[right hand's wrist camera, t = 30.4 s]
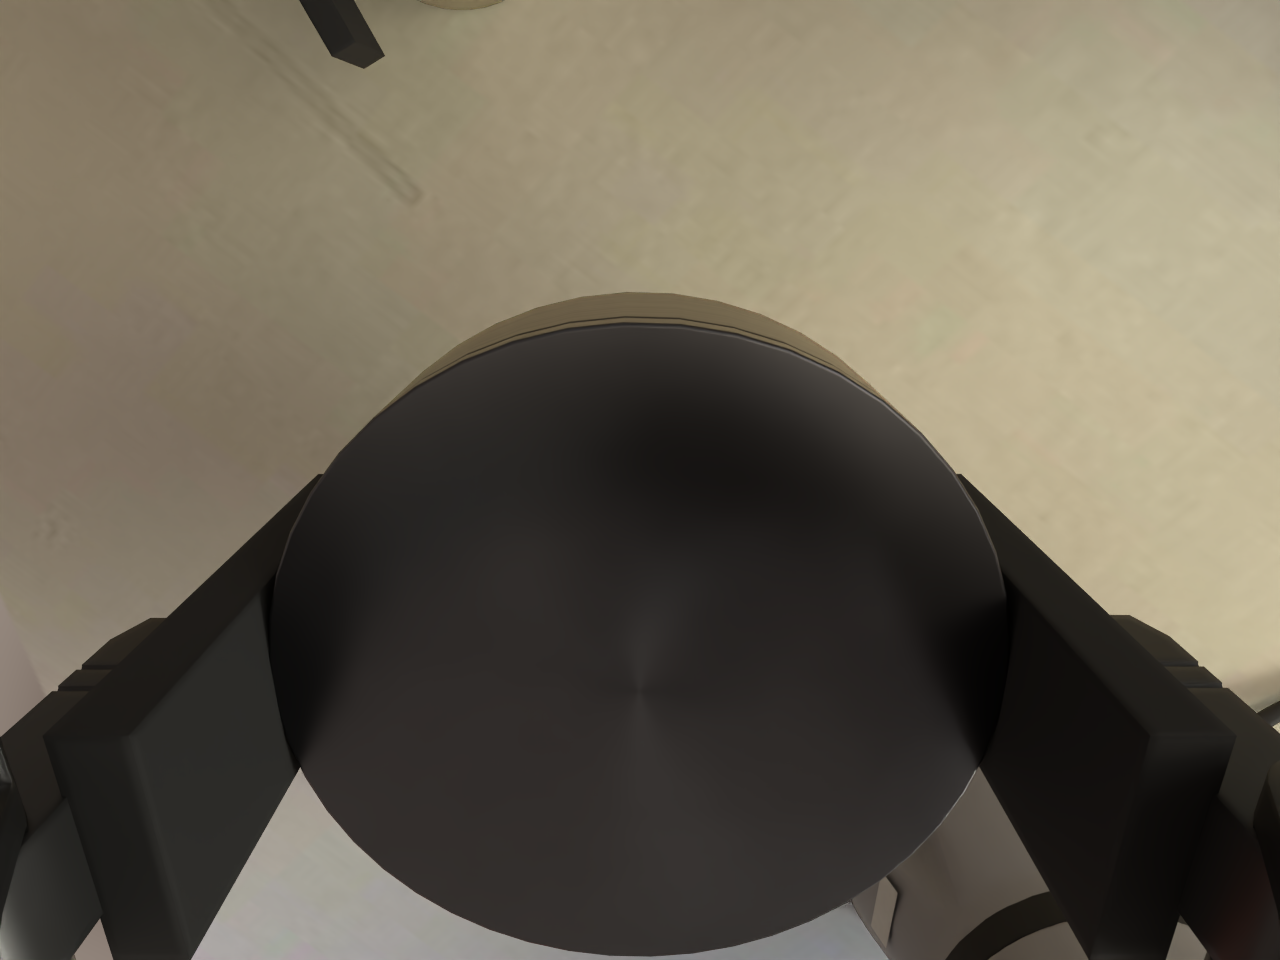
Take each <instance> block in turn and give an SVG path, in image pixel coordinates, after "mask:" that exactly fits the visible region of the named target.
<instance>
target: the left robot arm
mask: <svg viewBox="0 0 1280 960" xmlns="http://www.w3.org/2000/svg"><path fill="white" fill-rule="evenodd" d="M299 1H300V2H301V4H302V6H303V7H304V9H305V11H306V13H307V14H308V16H309V18H310V20H311V21H312V23H313V25H314V26H315V28H316V30H317V32H318V33H319V35H320V37H321V38H322V40H323V42H324V44H325V45H326V47H327V49H328V50H329V52H330V54H331V56H332V57H335V58H338V59H340V60H343V61H345V62H348V63H350V64H353V65H356V66H358V67H361V68H363V69H364V68H366V67H368V66H369V65H371V64H373V63H374V62H376V61H377V60H379V59H381V58H382V57H384V56H385V55H384V53H383V51H382V50H381V48H380V46H379V44H378V43H377V41H376V39H375V37H374V35H373V34H372V32H371V30H370V28H369V26H368V25H367V23H366V21H365V19H364V18H363V16H362V14H361V12H360V10H359V9H358V7H357V5H356V3H355V2H354V0H299Z"/></svg>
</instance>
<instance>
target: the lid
mask: <svg viewBox="0 0 1280 960" xmlns="http://www.w3.org/2000/svg"><path fill="white" fill-rule="evenodd" d="M1009 649H1010V627H1009V616H1008V604H1007V594H1006V590H1005V586H1004V582H1003V578H1002V573H1001V569H1000V565H999V561H998V557H997V553H996V550H995V548H994V546H993V543H992V541H991V539H990V536H989V534H988V531H987V529H986V527H985V524H984V522H983V520H982V517H981V515H980V513H979V510H978V509H977V507H976V505H975V504H974V502H973V501H972V499H971V497H970V496H969V494H968V493H967V491H966V489H965V488H964V486H963V484H962V483H961V481H960V480H959V478H958V476H957V475H956V473H955V472H954V470H953V469H952V468H951V467H950V465H949V464H948V463H947V462H946V461H945V460H944V458H943V457H942V456H941V455H940V454H939V453H938V451H937V450H936V449H935V448H934V447H933V446H932V444H931V443H930V442H929V441H928V440H927V439H926V437H925V436H924V435H923V434H922V433H921V432H920V431H919V430H918V429H917V428H916V427H915V426H914V425H912V424H911V423H910V422H909V421H908V420H907V419H906V418H905V417H904V416H903V415H902V414H901V413H900V412H899V411H898V410H896V409H895V408H894V407H893V406H892V405H891V404H890V403H889V402H888V401H887V400H886V399H885V398H884V397H883V396H881V395H880V394H879V393H878V392H877V391H876V390H875V389H874V388H873V387H872V386H871V385H870V384H869V383H867V382H866V381H865V380H864V379H863V378H862V377H860V376H859V375H858V374H857V373H856V372H855V371H854V370H852V369H851V368H850V367H849V366H848V365H847V364H845V363H844V362H843V361H842V360H841V359H840V358H839V357H837V356H836V355H834V354H833V353H831V352H830V351H828V350H827V349H825V348H824V347H822V346H820V345H819V344H817V343H816V342H814V341H813V340H811V339H810V338H808V337H807V336H805V335H803V334H802V333H800V332H798V331H796V330H794V329H792V328H789V327H787V326H785V325H783V324H781V323H779V322H776V321H774V320H772V319H770V318H768V317H766V316H763V315H761V314H758V313H755V312H752V311H749V310H745V309H742V308H739V307H736V306H732V305H729V304H726V303H722V302H719V301H714V300H708V299H702V298H696V297H690V296H684V295H678V294H669V293H636V292H624V293H615V294H605V295H595V296H586V297H579V298H575V299H571V300H567V301H563V302H558V303H554V304H550V305H546V306H542V307H538V308H535V309H532V310H530V311H527V312H525V313H522V314H520V315H517V316H515V317H512V318H509V319H507V320H504V321H502V322H499V323H497V324H495V325H493V326H491V327H489V328H487V329H486V330H484V331H482V332H480V333H478V334H477V335H475V336H473V337H471V338H470V339H468V340H466V341H464V342H462V343H461V344H459V345H457V346H456V347H455V348H453V349H452V350H451V351H449V352H448V353H447V354H445V355H444V356H443V357H441V358H440V359H439V360H438V361H436V362H435V363H434V364H432V365H431V366H430V367H428V368H427V369H426V370H424V371H423V372H422V373H421V374H420V375H419V376H418V377H417V378H416V379H415V380H414V381H412V382H411V383H410V384H409V385H408V386H407V387H406V388H405V389H404V390H403V391H402V392H401V393H400V394H398V395H397V396H396V397H395V398H394V399H393V400H392V401H391V402H390V403H389V404H388V405H387V406H386V407H384V408H383V409H382V410H381V411H380V412H379V413H378V414H377V415H376V416H375V417H374V418H373V419H372V420H371V421H370V422H369V423H368V424H367V425H366V426H365V427H364V428H363V429H362V430H361V431H360V432H359V433H358V434H357V435H356V436H355V437H354V438H353V439H352V440H351V441H350V442H349V443H348V444H347V445H346V446H345V447H344V448H343V449H342V450H341V451H340V452H339V453H338V455H337V456H336V458H335V459H334V460H333V462H332V463H331V464H330V466H329V467H328V469H327V470H326V471H325V473H324V474H323V476H322V477H321V478H320V480H319V481H318V482H317V484H316V485H315V487H314V488H313V489H312V491H311V492H310V494H309V496H308V498H307V500H306V502H305V504H304V506H303V508H302V510H301V512H300V514H299V516H298V518H297V520H296V522H295V524H294V526H293V528H292V530H291V531H290V534H289V537H288V540H287V543H286V546H285V549H284V552H283V555H282V558H281V562H280V565H279V568H278V571H277V574H276V579H275V585H274V592H273V598H272V604H271V611H270V617H269V660H270V665H271V671H272V676H273V682H274V687H275V693H276V698H277V704H278V708H279V713H280V717H281V720H282V723H283V727H284V730H285V733H286V736H287V740H288V742H289V744H290V746H291V748H292V750H293V753H294V755H295V757H296V759H297V761H298V763H299V765H300V767H301V769H302V771H303V774H304V776H305V778H306V779H307V781H308V782H309V784H310V785H311V787H312V788H313V790H314V791H315V793H316V794H317V796H318V797H319V799H320V801H321V802H322V804H323V805H324V807H325V808H326V810H327V811H328V812H329V813H330V815H331V816H332V817H333V818H334V819H335V821H336V822H337V823H338V824H339V825H340V826H341V828H342V829H343V830H344V831H345V832H346V833H347V835H348V836H349V837H350V838H351V839H352V840H353V842H355V843H356V844H357V845H358V846H359V847H360V848H361V849H362V850H363V851H364V852H365V853H366V854H368V855H369V856H370V857H371V858H372V859H373V860H374V861H375V862H376V863H377V864H378V865H380V866H381V867H382V868H383V869H384V870H385V871H387V872H388V873H390V874H391V875H392V876H394V877H395V878H396V879H398V880H399V881H401V882H402V883H403V884H405V885H406V886H408V887H409V888H410V889H412V890H413V891H414V892H416V893H417V894H419V895H421V896H423V897H424V898H426V899H428V900H430V901H431V902H433V903H435V904H437V905H439V906H440V907H442V908H444V909H446V910H447V911H449V912H451V913H453V914H455V915H457V916H460V917H462V918H464V919H467V920H469V921H471V922H473V923H476V924H478V925H480V926H482V927H485V928H487V929H489V930H492V931H496V932H499V933H502V934H505V935H508V936H511V937H514V938H517V939H520V940H524V941H527V942H530V943H535V944H540V945H544V946H549V947H554V948H558V949H563V950H567V951H575V952H583V953H592V954H600V955H609V956H664V955H677V954H691V953H697V952H703V951H709V950H715V949H721V948H727V947H732V946H736V945H740V944H743V943H747V942H751V941H754V940H758V939H762V938H765V937H769V936H773V935H775V934H778V933H780V932H783V931H786V930H788V929H791V928H793V927H796V926H799V925H801V924H804V923H806V922H809V921H811V920H813V919H815V918H817V917H819V916H821V915H823V914H825V913H827V912H829V911H831V910H833V909H835V908H837V907H839V906H841V905H843V904H845V903H847V902H848V901H850V900H851V899H853V898H855V897H856V896H858V895H859V894H861V893H862V892H864V891H865V890H867V889H868V888H870V887H871V886H873V885H874V884H876V883H878V882H879V881H881V880H882V879H883V878H884V877H886V876H887V875H888V874H889V873H890V872H892V871H893V870H894V869H895V868H896V867H898V866H899V865H900V864H901V863H903V862H904V861H905V860H906V859H907V858H909V857H910V856H911V855H912V854H913V853H914V852H915V851H916V850H917V849H918V848H919V847H920V846H921V845H922V844H923V843H924V842H925V841H926V840H927V839H928V838H929V836H930V835H931V834H932V833H933V832H934V831H935V830H936V829H937V828H938V827H939V826H940V825H941V824H942V822H943V821H944V820H945V818H946V817H947V815H948V814H949V813H950V811H951V810H952V809H953V807H954V806H955V805H956V803H957V802H958V801H959V799H960V798H961V797H962V795H963V794H964V792H965V791H966V789H967V787H968V785H969V783H970V782H971V780H972V778H973V776H974V774H975V773H976V771H977V769H978V767H979V765H980V764H981V762H982V760H983V758H984V756H985V753H986V751H987V748H988V745H989V743H990V740H991V738H992V735H993V732H994V730H995V727H996V725H997V722H998V719H999V715H1000V709H1001V704H1002V699H1003V694H1004V689H1005V684H1006V679H1007V673H1008V664H1009Z"/></svg>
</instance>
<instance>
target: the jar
mask: <svg viewBox="0 0 1280 960" xmlns="http://www.w3.org/2000/svg"><path fill="white" fill-rule="evenodd" d="M418 1H421V2H423V3H425V4H429V5H432V6H436V7H439V8H446V9H453V10H471V9H477V8H483V7H487V6H490V5H493V4H497V3H500V2H502V1H504V0H418Z"/></svg>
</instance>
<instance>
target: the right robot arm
mask: <svg viewBox="0 0 1280 960" xmlns="http://www.w3.org/2000/svg"><path fill="white" fill-rule="evenodd" d="M956 475H957V476H958V478H959V480H960V481H961V483H962V484H963V486H964V488H965V489H966V491H967V493H968V494H969V496H970V497H971V499H972V501H973V502H974V504H975V505H976V507H977V509H978V510H979V513H980V515H981V517H982V520H983V522H984V524H985V527H986V529H987V531H988V534H989V536H990V539H991V541H992V543H993V546H994V548H995V550H996V553H997V557H998V561H999V565H1000V569H1001V573H1002V578H1003V582H1004V586H1005V590H1006V594H1007V604H1008V616H1009V627H1010V649H1009V664H1008V673H1007V679H1006V684H1005V689H1004V694H1003V699H1002V704H1001V709H1000V715H999V719H998V722H997V725H996V727H995V730H994V732H993V735H992V738H991V740H990V743H989V745H988V748H987V751H986V753H985V756H984V758H983V760H982V762H981V764H980V765H979V767H978V769H977V771H976V773H975V774H974V776H973V778H972V780H971V782H970V783H969V785H968V787H967V789H966V791H965V792H964V794H963V795H962V797H961V798H960V799H959V801H958V802H957V803H956V805H955V806H954V807H953V809H952V810H951V811H950V813H949V814H948V815H947V817H946V818H945V820H944V821H943V822H942V824H941V825H940V826H939V827H938V828H937V829H936V830H935V831H934V832H933V833H932V834H931V835H930V836H929V838H928V839H927V840H926V841H925V842H924V843H923V844H922V845H921V846H920V847H919V848H918V849H917V850H916V851H915V852H914V853H913V854H912V855H911V856H910V857H909V858H907V859H906V860H905V861H904V862H903V863H901V864H900V865H899V866H898V867H896V868H895V869H894V870H893V871H892V872H890V873H889V874H888V875H887V876H886V877H884V878H883V879H882V880H881V881H879V882H878V883H876V884H874V885H873V886H871V887H870V888H868V889H867V890H865V891H864V892H862V893H861V894H859V895H858V896H856V897H855V898H853V899H851V900H852V903H853V905H854V907H855V909H856V911H857V913H858V915H859V917H860V918H861V920H862V921H863V923H864V925H865V926H866V928H867V929H868V931H869V932H870V934H871V935H872V937H873V938H874V939H875V941H876V942H877V943H878V945H879V946H880V947H881V949H882V950H883V952H884V953H885V954H886V956H887V957H888V958H889V960H1280V733H1278V732H1277V731H1276V730H1275V729H1274V728H1273V726H1274V725H1276V724H1278V723H1279V722H1280V701H1279V702H1276V703H1274V704H1272V705H1270V706H1269V707H1267V708H1265V709H1263V710H1262V711H1260V712H1258V713H1256V712H1255V711H1254V710H1252V709H1251V708H1250V707H1249V706H1248V705H1247V704H1246V703H1244V702H1243V701H1242V700H1241V699H1240V698H1239V697H1238V696H1237V695H1235V694H1234V693H1233V692H1232V691H1231V690H1230V689H1229V688H1223V687H1222V682H1221V681H1220V680H1218V679H1217V678H1216V677H1215V676H1214V675H1213V674H1212V673H1210V672H1209V671H1208V670H1207V669H1206V668H1205V667H1199V666H1198V661H1197V660H1196V659H1195V658H1193V657H1192V656H1191V655H1190V654H1189V653H1188V652H1187V651H1185V650H1184V649H1183V648H1182V647H1181V646H1180V645H1179V644H1178V643H1176V642H1175V641H1174V640H1173V639H1172V638H1171V637H1170V636H1168V635H1166V634H1164V633H1162V632H1160V631H1158V630H1156V629H1155V628H1153V627H1151V626H1149V625H1147V624H1145V623H1143V622H1141V621H1139V620H1138V619H1136V618H1134V617H1132V616H1130V615H1109V614H1108V613H1107V612H1106V611H1105V610H1104V609H1103V608H1102V607H1101V606H1100V605H1099V604H1098V603H1096V602H1095V601H1094V600H1093V599H1092V598H1091V597H1090V596H1089V595H1088V594H1087V593H1086V592H1085V591H1084V590H1083V589H1082V588H1081V587H1080V586H1079V585H1078V584H1076V583H1075V582H1074V581H1073V580H1072V579H1071V578H1070V577H1069V576H1068V575H1067V574H1066V573H1065V572H1064V571H1063V570H1062V569H1061V568H1060V567H1059V566H1057V565H1056V564H1055V563H1054V562H1053V561H1052V560H1051V559H1050V558H1049V557H1048V556H1047V555H1046V554H1045V553H1044V552H1043V551H1042V550H1041V549H1040V548H1038V547H1037V546H1036V545H1035V544H1034V543H1033V542H1032V541H1031V540H1030V539H1029V538H1028V537H1027V536H1026V535H1025V534H1024V533H1023V532H1022V531H1021V530H1020V529H1018V528H1017V527H1016V526H1015V525H1014V524H1013V523H1012V522H1011V521H1010V520H1009V519H1008V518H1007V517H1006V516H1005V515H1004V514H1003V513H1002V512H1001V511H999V510H998V509H997V508H996V507H995V506H994V505H993V504H992V503H991V502H990V501H989V500H988V499H987V498H986V497H985V496H984V495H983V494H982V493H981V492H979V491H978V490H977V489H976V488H975V487H974V486H973V485H972V484H971V483H970V482H969V481H968V480H967V479H966V478H965V477H964V476H963V475H962V474H956ZM322 476H323V474H318V475H317V476H316V477H315V478H314V479H313V480H312V481H311V482H309V483H308V484H307V485H306V486H305V487H304V488H303V489H302V490H301V491H300V492H299V493H298V494H297V495H296V496H295V497H294V498H293V499H292V500H291V501H289V502H288V503H287V504H286V505H285V506H284V507H283V508H282V509H281V510H280V511H279V512H278V513H277V514H276V515H275V516H274V517H273V518H272V519H270V520H269V521H268V522H267V523H266V524H265V525H264V526H263V527H262V528H261V529H260V530H259V531H258V532H257V533H256V534H255V535H254V536H253V537H251V538H250V539H249V540H248V541H247V542H246V543H245V544H244V545H243V546H242V547H241V548H240V549H239V550H238V551H237V552H236V553H235V554H234V555H233V556H231V557H230V558H229V559H228V560H227V561H226V562H225V563H224V564H223V565H222V566H221V567H220V568H219V569H218V570H217V571H216V572H215V573H214V574H212V575H211V576H210V577H209V578H208V579H207V580H206V581H205V582H204V583H203V584H202V585H201V586H200V587H199V588H198V589H197V590H196V591H195V592H193V593H192V594H191V595H190V596H189V597H188V598H187V599H186V600H185V601H184V602H183V603H182V604H181V605H180V606H179V607H178V608H177V609H176V610H175V611H173V612H172V613H171V614H170V615H169V616H168V617H167V618H150V619H148V620H146V621H144V622H142V623H140V624H139V625H137V626H135V627H133V628H131V629H129V630H127V631H125V632H124V633H122V634H120V635H118V636H116V637H114V638H112V639H110V640H109V641H108V642H107V643H106V644H105V645H104V646H103V647H101V648H100V649H99V650H98V651H97V652H96V653H95V654H94V655H92V656H91V657H90V658H89V659H88V660H87V661H86V662H85V663H83V664H82V669H81V670H76V671H74V672H73V673H72V674H71V675H70V676H69V677H68V678H67V679H65V680H64V681H63V682H62V683H61V684H60V685H59V686H58V691H52V692H51V693H50V694H49V695H47V696H46V697H45V698H44V699H43V700H42V701H41V702H40V703H38V704H37V705H36V706H35V707H34V708H33V709H32V710H31V711H29V712H28V713H27V714H26V715H25V716H24V717H23V718H22V719H20V720H19V721H18V722H17V723H16V724H15V725H14V726H13V727H11V728H10V729H9V730H8V731H7V732H6V733H5V734H4V735H2V736H1V737H0V960H76V958H75V955H74V953H75V952H76V951H77V949H78V948H79V946H80V945H81V944H82V942H83V941H84V940H85V938H86V937H87V935H88V934H89V933H90V931H91V930H92V929H93V927H94V926H95V924H96V923H97V922H98V920H99V919H101V922H102V925H103V928H104V932H105V935H106V938H107V941H108V944H109V947H110V950H111V954H112V957H113V960H191V959H192V957H193V955H194V953H195V951H196V950H197V948H198V946H199V944H200V943H201V941H202V939H203V937H204V936H205V934H206V932H207V930H208V929H209V927H210V925H211V923H212V922H213V920H214V918H215V916H216V914H217V913H218V911H219V909H220V907H221V906H222V904H223V902H224V900H225V899H226V897H227V895H228V893H229V892H230V890H231V888H232V886H233V885H234V883H235V881H236V879H237V877H238V876H239V874H240V872H241V870H242V869H243V867H244V865H245V863H246V862H247V860H248V858H249V856H250V855H251V853H252V851H253V849H254V848H255V846H256V844H257V842H258V840H259V839H260V837H261V835H262V833H263V832H264V830H265V828H266V826H267V825H268V823H269V821H270V819H271V818H272V816H273V814H274V812H275V811H276V809H277V807H278V805H279V804H280V802H281V800H282V798H283V796H284V795H285V793H286V791H287V789H288V788H289V786H290V784H291V782H292V781H293V779H294V777H295V775H296V774H297V772H298V770H299V768H300V765H299V763H298V761H297V759H296V757H295V755H294V753H293V750H292V748H291V746H290V744H289V742H288V740H287V736H286V733H285V730H284V727H283V723H282V720H281V717H280V713H279V708H278V704H277V698H276V693H275V687H274V682H273V676H272V671H271V665H270V660H269V617H270V611H271V604H272V598H273V592H274V585H275V579H276V574H277V571H278V568H279V565H280V562H281V558H282V555H283V552H284V549H285V546H286V543H287V540H288V537H289V534H290V531H291V530H292V528H293V526H294V524H295V522H296V520H297V518H298V516H299V514H300V512H301V510H302V508H303V506H304V504H305V502H306V500H307V498H308V496H309V494H310V492H311V491H312V489H313V488H314V487H315V485H316V484H317V482H318V481H319V480H320V478H321V477H322Z"/></svg>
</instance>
